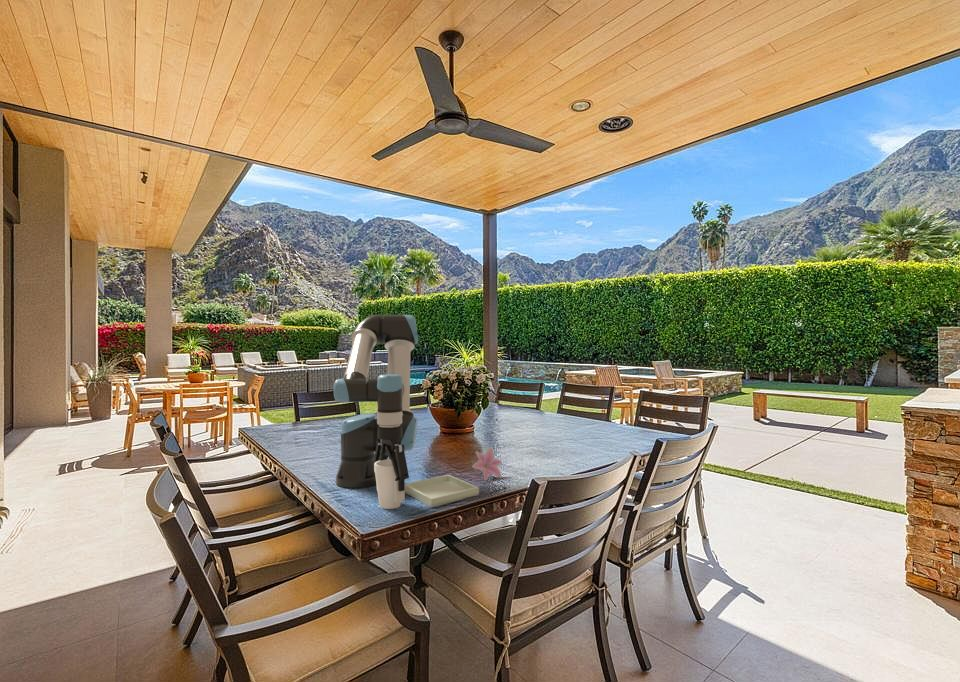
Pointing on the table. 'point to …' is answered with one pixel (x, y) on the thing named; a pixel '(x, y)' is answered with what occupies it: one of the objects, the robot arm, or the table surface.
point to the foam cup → (386, 484)
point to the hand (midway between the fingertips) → (390, 495)
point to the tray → (441, 490)
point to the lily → (488, 464)
